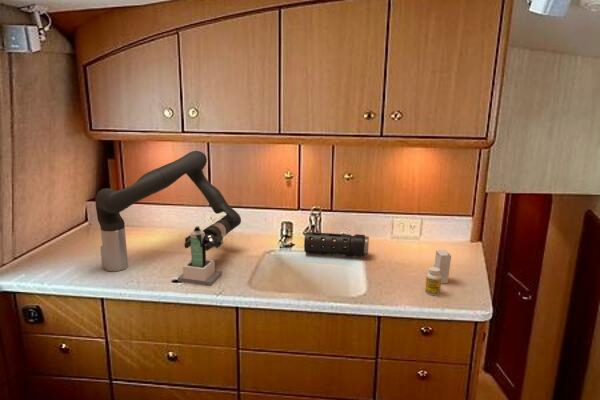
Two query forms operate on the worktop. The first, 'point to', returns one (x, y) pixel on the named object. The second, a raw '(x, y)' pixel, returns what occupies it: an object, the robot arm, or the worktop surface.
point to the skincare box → (443, 264)
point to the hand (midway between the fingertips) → (195, 247)
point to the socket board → (200, 274)
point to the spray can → (198, 248)
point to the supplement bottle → (433, 281)
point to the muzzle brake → (336, 244)
